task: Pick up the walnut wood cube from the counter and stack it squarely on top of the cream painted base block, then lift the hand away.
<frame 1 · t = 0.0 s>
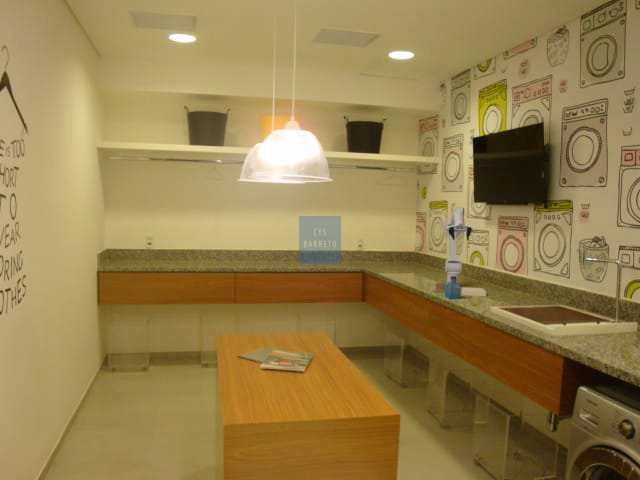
hand: (460, 239, 293), 32 cm above the counter, tool tilted 50°, fingers open, 7 cm apart
base block: (473, 294, 304), on the counter
perfume bottle: (452, 298, 288), on the counter
walnut cube: (440, 292, 307), on the counter
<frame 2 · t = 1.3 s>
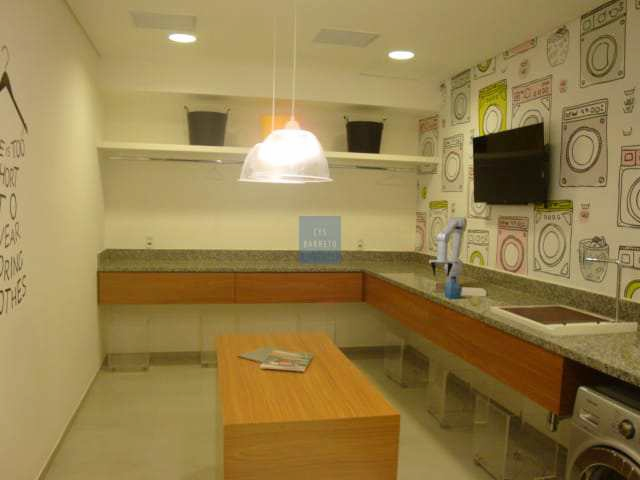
hand: (441, 276, 306), 9 cm above the counter, tool pointing down, fingers open, 7 cm apart
nothing on the counter moved.
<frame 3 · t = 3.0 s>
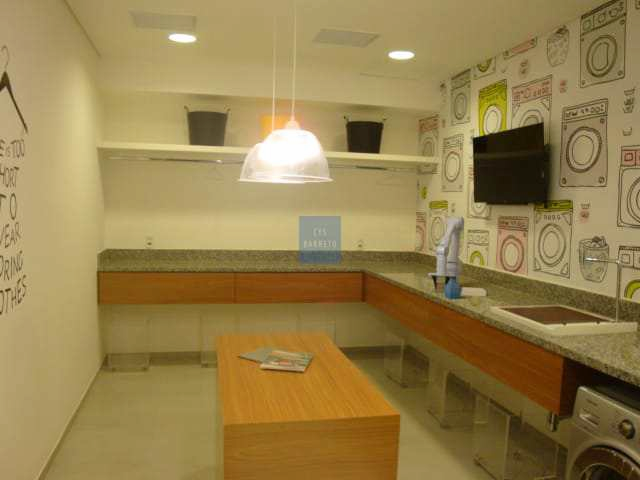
hand: (440, 289, 306), 2 cm above the counter, tool pointing down, fingers closed on walnut cube, 5 cm apart
walnut cube: (440, 291, 306), on the counter, touching gripper
everything else where it was.
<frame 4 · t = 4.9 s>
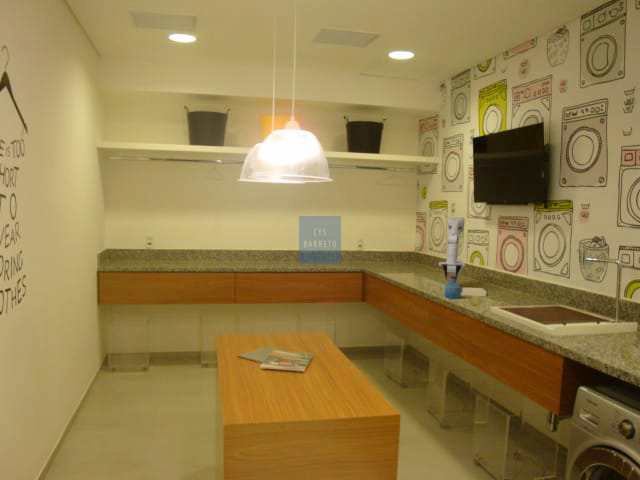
hand: (451, 278, 305), 8 cm above the counter, tool pointing down, fingers closed on walnut cube, 5 cm apart
walnut cube: (450, 281, 305), point 7 cm above the counter, touching gripper
everything else where it was.
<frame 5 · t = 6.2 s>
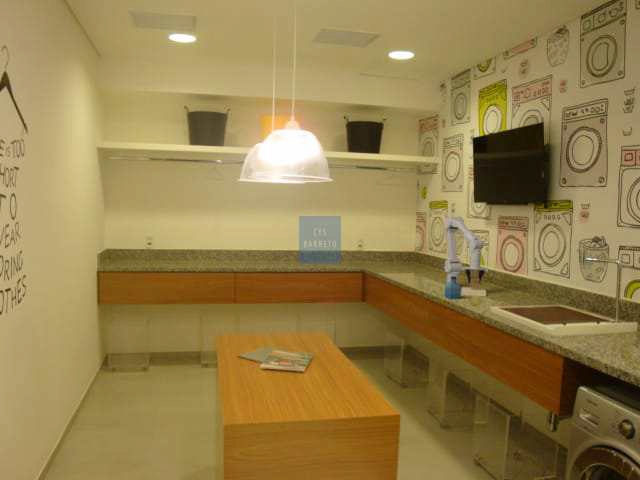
hand: (474, 283, 303), 6 cm above the counter, tool pointing down, fingers closed on walnut cube, 5 cm apart
walnut cube: (473, 286, 303), point 4 cm above the counter, touching gripper
everything else where it was.
when the fingers open (6 cm above the counter, at t = 7.2 s): walnut cube drops 1 cm, point 2 cm above the counter.
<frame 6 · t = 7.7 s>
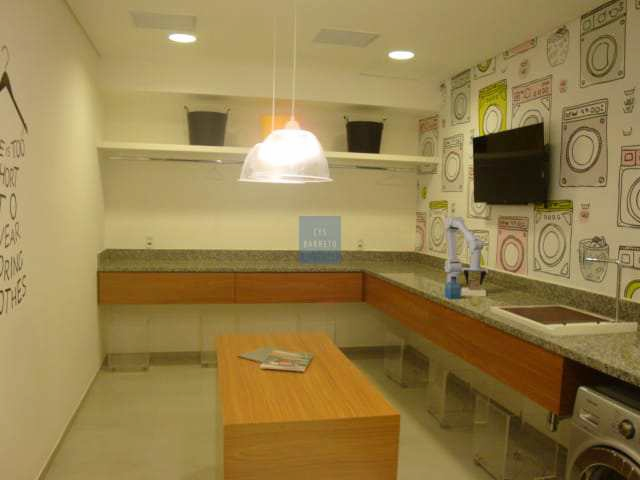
hand: (474, 284, 304), 6 cm above the counter, tool pointing down, fingers open, 7 cm apart
walnut cube: (473, 289, 304), point 2 cm above the counter
everything else where it was.
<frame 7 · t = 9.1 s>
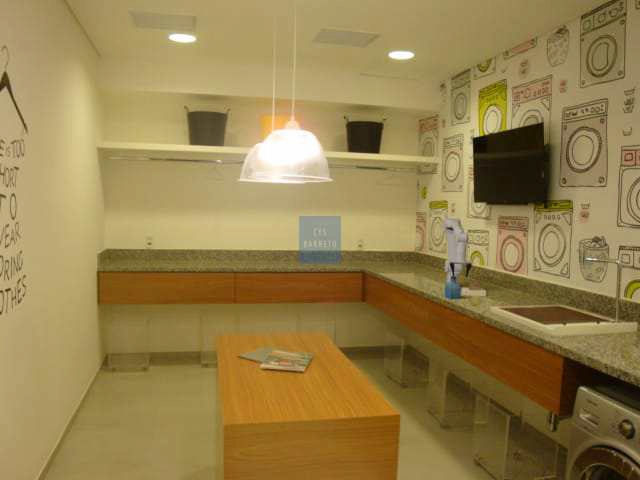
hand: (459, 276, 307), 9 cm above the counter, tool pointing down, fingers open, 7 cm apart
nothing on the counter moved.
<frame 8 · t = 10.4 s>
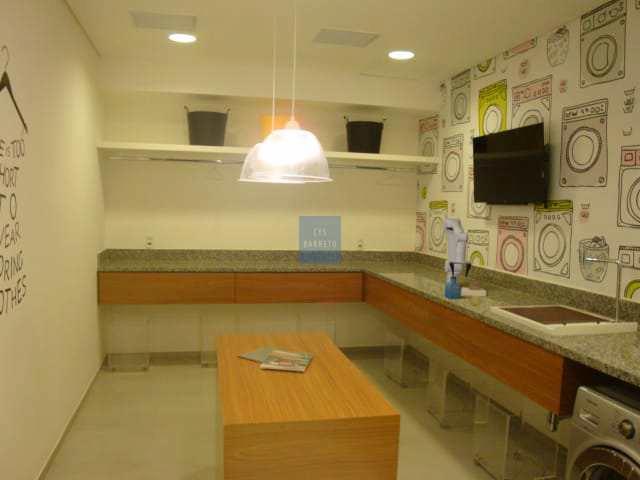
hand: (459, 276, 307), 9 cm above the counter, tool pointing down, fingers open, 7 cm apart
base block: (473, 294, 304), on the counter, touching walnut cube
walnut cube: (473, 289, 304), point 2 cm above the counter, touching base block
everything else where it was.
at the end: walnut cube inside the target area on the base block (0.1 cm from its centre), point 3.0 cm above the base block's base; walnut cube tilted 0°; the gripper is holding nothing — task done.
